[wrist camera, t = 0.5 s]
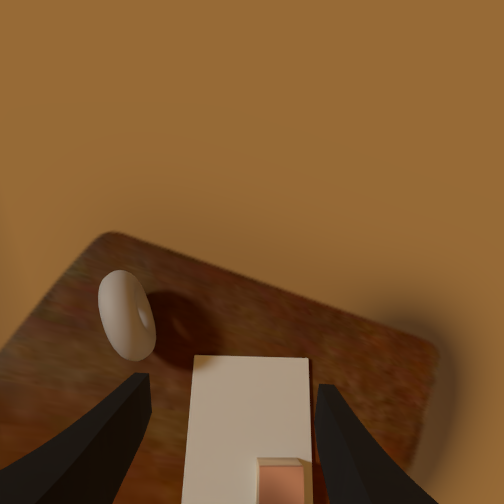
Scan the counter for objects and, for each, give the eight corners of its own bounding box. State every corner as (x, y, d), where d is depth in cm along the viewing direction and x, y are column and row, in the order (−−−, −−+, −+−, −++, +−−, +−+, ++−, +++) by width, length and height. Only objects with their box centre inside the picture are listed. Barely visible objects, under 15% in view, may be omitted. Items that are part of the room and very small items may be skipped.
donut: (117, 286, 38) (83, 264, 28) (144, 278, 38) (120, 253, 29) (137, 364, 35) (106, 368, 26) (165, 353, 36) (146, 353, 26)
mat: (313, 562, 31) (315, 566, 30) (176, 567, 29) (175, 571, 29) (307, 358, 37) (308, 358, 37) (194, 355, 36) (194, 355, 35)
